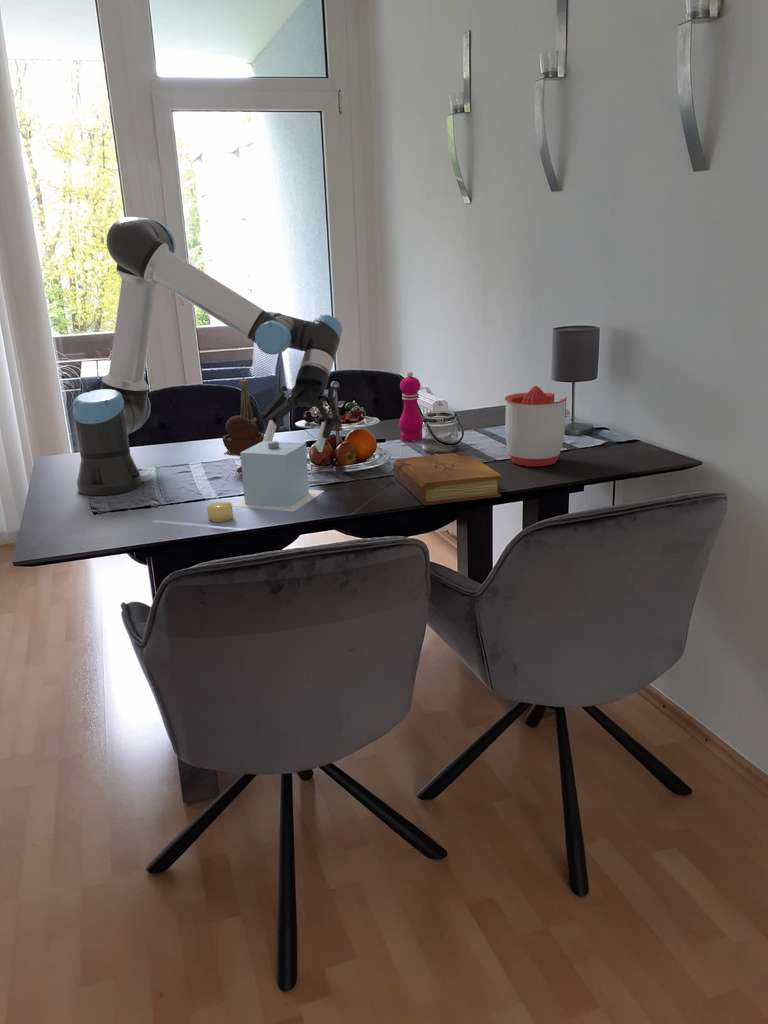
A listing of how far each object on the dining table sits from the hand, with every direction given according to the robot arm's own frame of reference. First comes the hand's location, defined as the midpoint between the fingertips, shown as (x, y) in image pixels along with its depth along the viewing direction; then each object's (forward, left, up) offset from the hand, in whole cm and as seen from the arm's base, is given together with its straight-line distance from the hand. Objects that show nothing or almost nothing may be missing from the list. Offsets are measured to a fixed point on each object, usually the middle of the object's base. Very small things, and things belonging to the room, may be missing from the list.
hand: (291, 448), depth 188 cm
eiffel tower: (-43, +13, -11) cm, 46 cm away
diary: (+22, +28, -12) cm, 38 cm away
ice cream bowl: (-26, +2, -11) cm, 28 cm away
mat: (+2, -6, -11) cm, 13 cm away
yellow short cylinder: (+6, -23, -11) cm, 26 cm away
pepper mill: (-22, +56, -11) cm, 61 cm away
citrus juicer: (+22, +61, -11) cm, 66 cm away
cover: (+2, -6, -10) cm, 12 cm away
